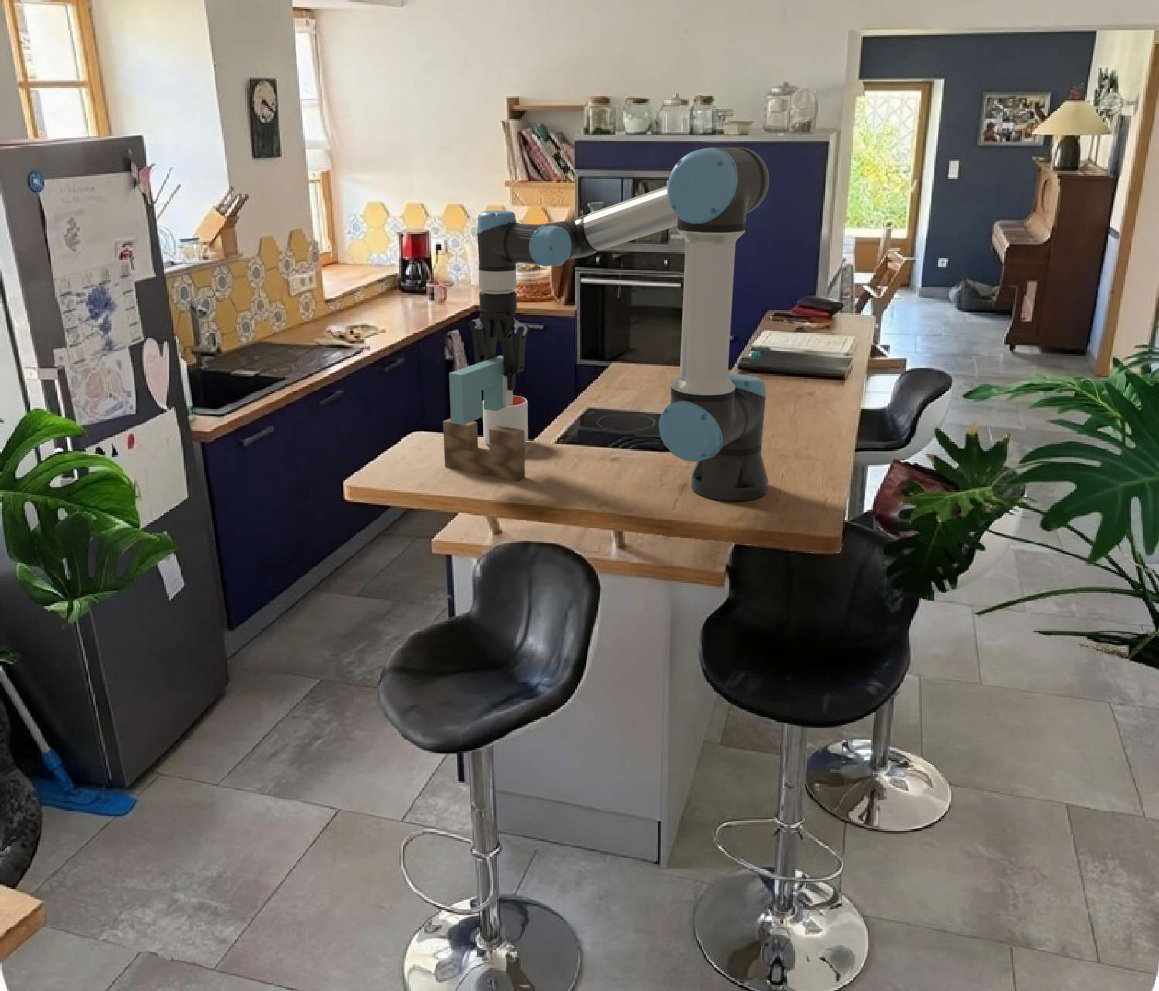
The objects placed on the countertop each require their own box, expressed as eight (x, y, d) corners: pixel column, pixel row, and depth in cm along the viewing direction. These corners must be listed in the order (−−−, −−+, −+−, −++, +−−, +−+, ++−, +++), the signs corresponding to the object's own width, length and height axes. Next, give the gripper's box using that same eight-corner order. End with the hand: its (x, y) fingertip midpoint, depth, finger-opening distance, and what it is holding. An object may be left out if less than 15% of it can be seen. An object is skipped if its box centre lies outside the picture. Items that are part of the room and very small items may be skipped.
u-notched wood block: (524, 476, 210) (524, 430, 206) (517, 481, 207) (516, 434, 204) (453, 462, 218) (451, 417, 214) (445, 466, 215) (443, 421, 212)
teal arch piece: (501, 402, 216) (500, 355, 213) (513, 404, 215) (512, 357, 211) (451, 422, 201) (449, 373, 198) (463, 424, 200) (461, 375, 197)
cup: (521, 451, 226) (521, 407, 222) (478, 448, 228) (477, 405, 224) (532, 438, 235) (532, 396, 231) (490, 435, 237) (489, 393, 233)
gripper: (541, 291, 204) (542, 404, 213) (475, 284, 212) (478, 394, 220) (521, 296, 198) (523, 413, 207) (454, 289, 206) (458, 402, 214)
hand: (500, 403), depth 213 cm, fingers closed on teal arch piece, 3 cm apart
